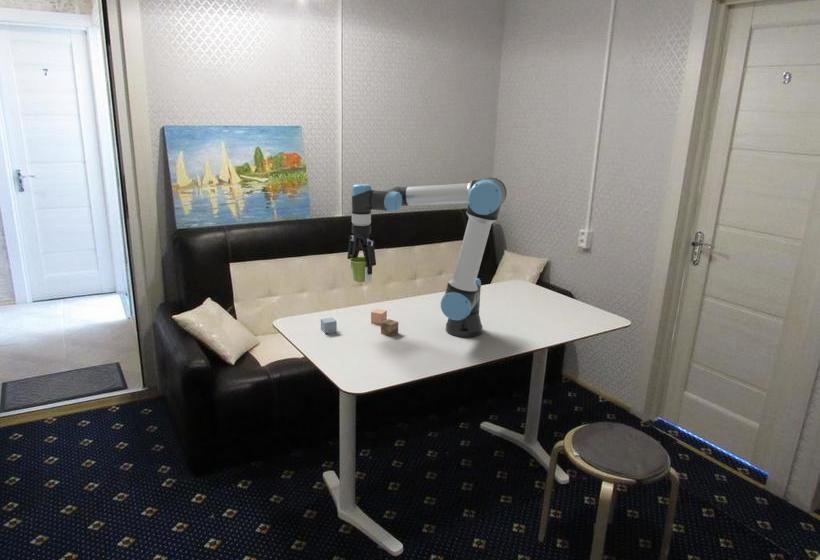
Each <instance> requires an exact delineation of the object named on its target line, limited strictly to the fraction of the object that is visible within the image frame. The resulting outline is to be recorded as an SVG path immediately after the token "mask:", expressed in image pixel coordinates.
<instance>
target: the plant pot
mask: <svg viewBox="0 0 820 560" xmlns="http://www.w3.org/2000/svg"><path fill="white" fill-rule="evenodd" d="M349 262H350V266H351V265H352V269H351V271H352V270H353V277H354V278H353V281H354V282H357V283H365V266H367V265H366V262H365V258H364V256H358V257H356V258H351V259H349Z"/></svg>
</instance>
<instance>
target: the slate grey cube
mask: <svg viewBox="0 0 820 560" xmlns="http://www.w3.org/2000/svg"><path fill="white" fill-rule="evenodd" d="M337 326H338V325H337V320H336V319H335V318H334V317H324V318H320V331H321V330H322V331H323V332H324V333H325V334H324V333H323V332H322V331H321V332H322V333H323V334H324V335H327V334H326V333H331V334H335V333H334V332H338V331H337V330H338V329H337V328H338V327H337Z"/></svg>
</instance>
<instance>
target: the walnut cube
mask: <svg viewBox="0 0 820 560" xmlns="http://www.w3.org/2000/svg"><path fill="white" fill-rule="evenodd" d="M380 334H381V335H383V336H387V337H393V336H395V335H397V334H399V321H397V320H393V319H390V318H389V319H387V320H385V321H383V322H381V325H380Z"/></svg>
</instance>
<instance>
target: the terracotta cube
mask: <svg viewBox="0 0 820 560" xmlns="http://www.w3.org/2000/svg"><path fill="white" fill-rule="evenodd" d="M387 318H388V310H386V309H385V310H384V309H381V308H380V309H379V308H375V309H373V310H372V311H371V312H370V324H373V323H375V325H379V324H380V325H379V326H381V322H383V321H385V320H388V319H387Z"/></svg>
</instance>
